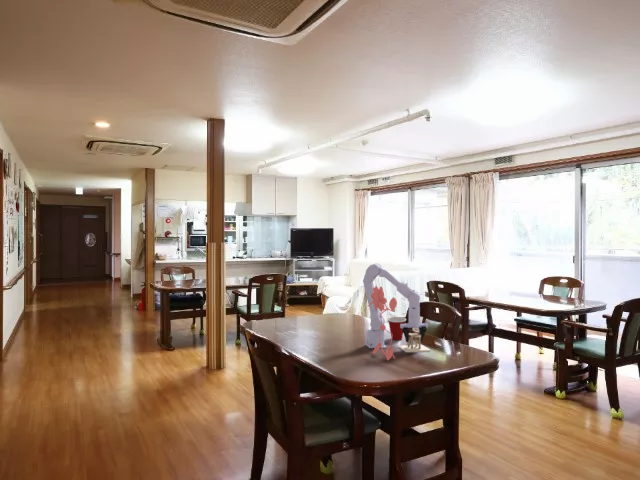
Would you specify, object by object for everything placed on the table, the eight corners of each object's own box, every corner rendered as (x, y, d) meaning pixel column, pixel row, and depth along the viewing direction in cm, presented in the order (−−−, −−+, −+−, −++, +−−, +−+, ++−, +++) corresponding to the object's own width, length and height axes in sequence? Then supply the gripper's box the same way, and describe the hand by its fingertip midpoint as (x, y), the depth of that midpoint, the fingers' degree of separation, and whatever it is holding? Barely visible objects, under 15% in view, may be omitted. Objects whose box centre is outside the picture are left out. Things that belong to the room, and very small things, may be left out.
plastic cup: (384, 340, 249) (384, 319, 249) (390, 336, 258) (390, 316, 258) (403, 342, 244) (403, 320, 244) (408, 338, 253) (408, 317, 253)
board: (406, 352, 222) (406, 350, 222) (398, 347, 233) (398, 345, 233) (430, 351, 224) (430, 349, 224) (421, 346, 235) (421, 344, 235)
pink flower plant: (377, 350, 226) (376, 282, 226) (406, 363, 203) (405, 287, 202) (351, 353, 220) (349, 284, 220) (378, 367, 197) (376, 290, 196)
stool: (411, 349, 226) (411, 335, 225) (407, 346, 231) (407, 333, 231) (420, 348, 226) (420, 335, 226) (416, 346, 232) (416, 333, 232)
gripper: (403, 317, 223) (403, 343, 223) (430, 316, 226) (430, 342, 226) (398, 314, 230) (398, 340, 230) (424, 314, 233) (424, 339, 233)
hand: (414, 341), depth 229 cm, fingers open, 7 cm apart
